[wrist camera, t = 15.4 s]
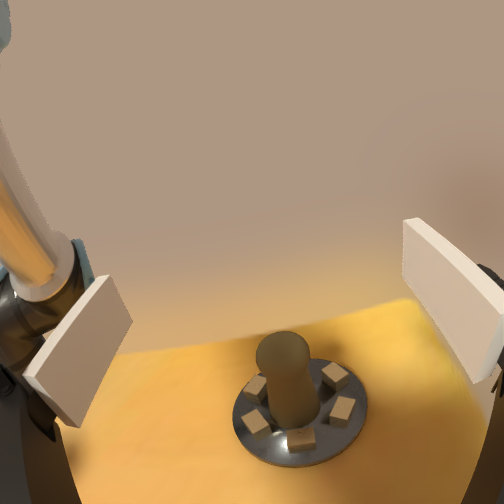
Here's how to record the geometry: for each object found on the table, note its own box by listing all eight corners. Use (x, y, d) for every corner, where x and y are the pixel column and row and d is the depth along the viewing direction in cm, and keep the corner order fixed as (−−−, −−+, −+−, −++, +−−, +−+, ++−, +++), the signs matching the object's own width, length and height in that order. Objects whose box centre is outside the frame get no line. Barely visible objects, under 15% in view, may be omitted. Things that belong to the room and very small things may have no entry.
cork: (272, 389, 34) (253, 324, 30) (321, 387, 33) (313, 319, 28) (265, 429, 29) (241, 367, 24) (319, 428, 27) (311, 364, 23)
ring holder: (209, 437, 30) (201, 425, 29) (273, 353, 41) (270, 338, 40) (335, 485, 21) (336, 476, 20) (381, 374, 33) (383, 359, 31)
